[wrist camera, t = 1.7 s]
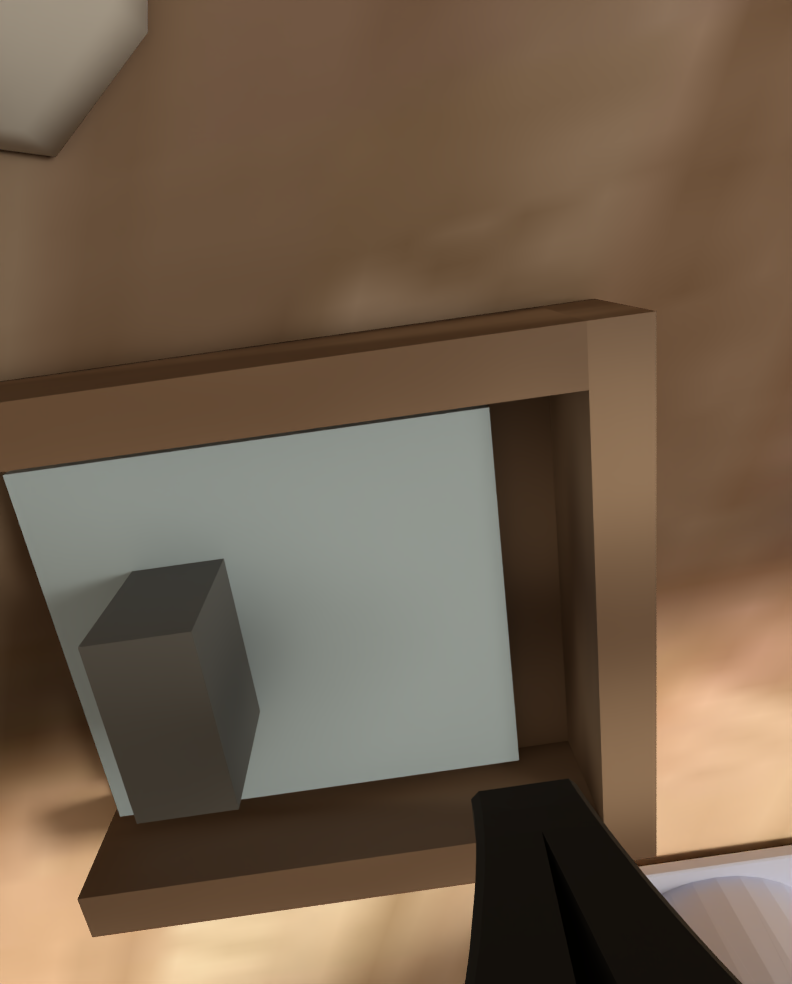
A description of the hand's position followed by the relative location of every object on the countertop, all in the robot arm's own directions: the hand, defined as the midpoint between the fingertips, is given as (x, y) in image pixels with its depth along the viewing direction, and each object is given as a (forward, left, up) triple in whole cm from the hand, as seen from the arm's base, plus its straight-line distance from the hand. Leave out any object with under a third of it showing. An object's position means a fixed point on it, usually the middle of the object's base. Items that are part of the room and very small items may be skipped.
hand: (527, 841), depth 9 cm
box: (0, +3, -8) cm, 9 cm away
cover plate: (0, +4, -8) cm, 9 cm away
